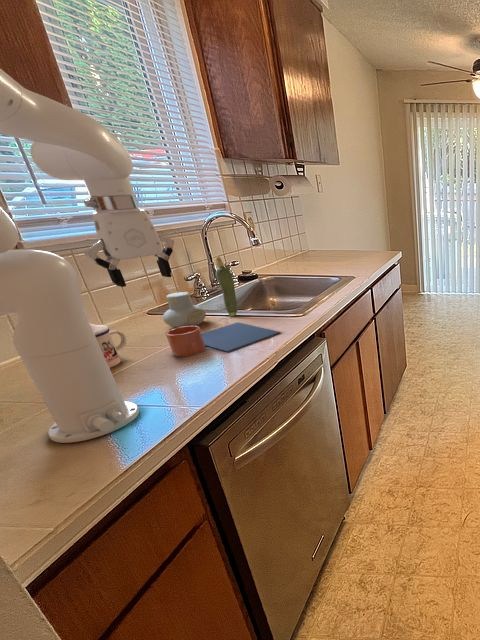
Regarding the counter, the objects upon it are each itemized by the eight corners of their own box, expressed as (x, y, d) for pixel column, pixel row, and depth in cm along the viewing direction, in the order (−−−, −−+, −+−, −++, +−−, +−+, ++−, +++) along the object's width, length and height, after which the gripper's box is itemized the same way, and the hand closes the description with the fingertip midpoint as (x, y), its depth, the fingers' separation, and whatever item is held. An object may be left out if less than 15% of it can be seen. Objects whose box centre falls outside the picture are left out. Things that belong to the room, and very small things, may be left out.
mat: (280, 333, 118) (280, 331, 118) (227, 352, 105) (227, 351, 105) (237, 323, 126) (237, 322, 126) (184, 340, 113) (184, 339, 113)
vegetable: (229, 314, 135) (212, 254, 127) (243, 312, 137) (227, 253, 128) (226, 318, 132) (208, 256, 123) (241, 316, 133) (224, 255, 124)
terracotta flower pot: (211, 348, 107) (205, 327, 105) (183, 358, 101) (175, 336, 99) (196, 344, 110) (189, 324, 108) (167, 353, 105) (159, 332, 102)
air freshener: (185, 331, 120) (174, 299, 116) (161, 330, 121) (149, 298, 117) (212, 320, 130) (203, 290, 125) (190, 319, 131) (180, 289, 127)
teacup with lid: (88, 376, 93) (65, 329, 88) (65, 371, 96) (42, 325, 91) (143, 357, 103) (126, 313, 98) (121, 352, 106) (103, 310, 101)
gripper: (74, 208, 79) (109, 292, 86) (168, 202, 93) (191, 274, 100) (57, 207, 82) (92, 288, 90) (150, 201, 96) (174, 272, 103)
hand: (145, 281), depth 95 cm, fingers open, 9 cm apart
